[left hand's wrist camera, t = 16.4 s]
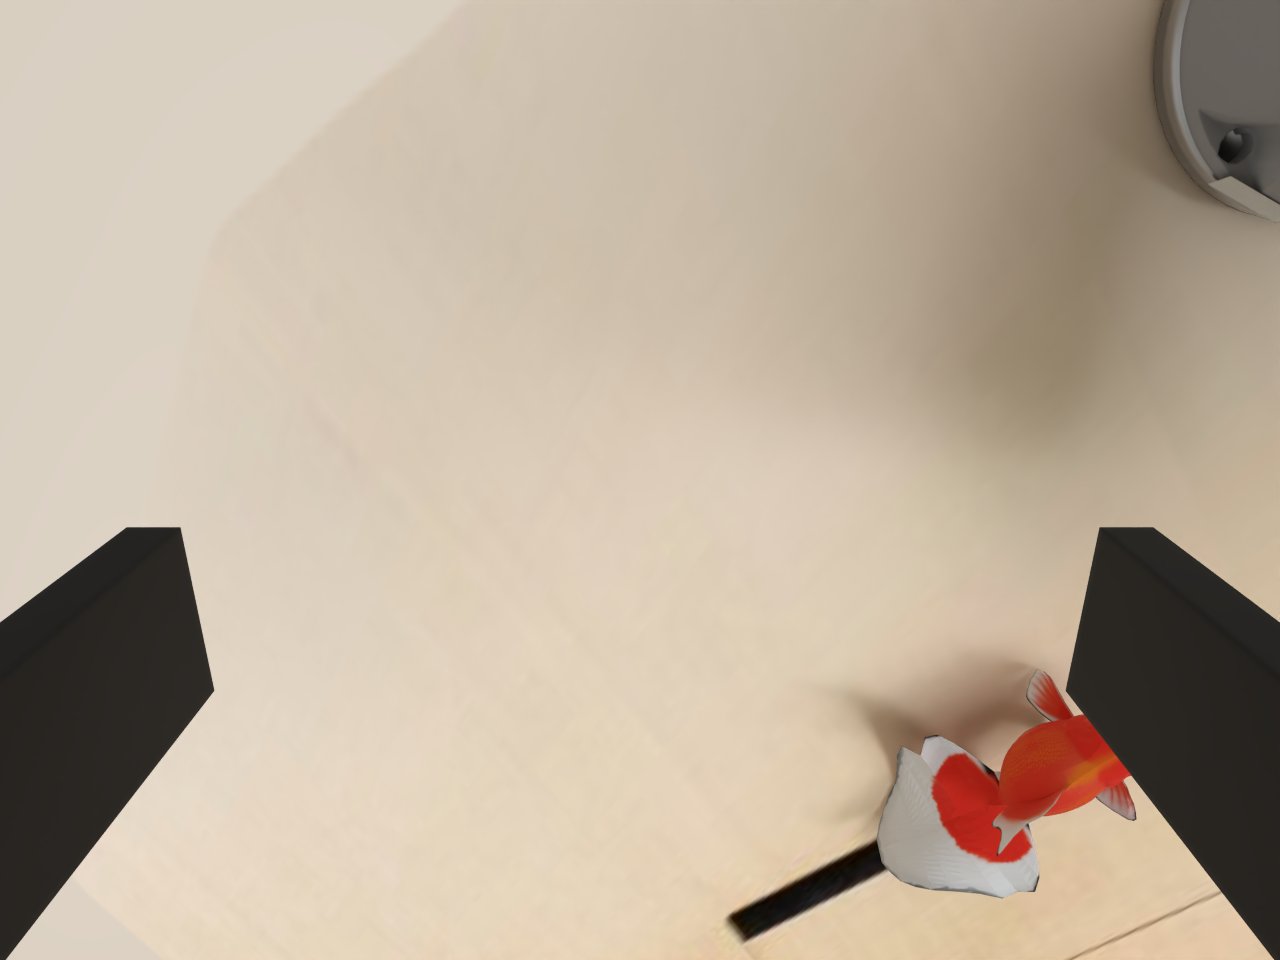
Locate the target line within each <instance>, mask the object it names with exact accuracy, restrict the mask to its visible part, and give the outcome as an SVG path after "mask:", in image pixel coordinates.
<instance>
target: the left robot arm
mask: <svg viewBox="0 0 1280 960" xmlns="http://www.w3.org/2000/svg"><path fill="white" fill-rule="evenodd" d="M1154 88H1155V98H1156V104H1157V109H1158V114H1159V118H1160V121H1161V124H1162V128H1163V131H1164V134H1165V136H1166V138H1167V141H1168V143H1169V145H1170V147H1171V149H1172V151H1173V153H1174V154H1175V156H1176V158H1177V159H1178V161H1179V163H1180V164H1181V165H1182V167H1183V168H1184V169H1185V171H1186V172H1187V173H1188V175H1189V176H1190V177H1191V178H1192V179H1193V180H1194V181H1195V182H1196V183H1197V184H1198V185H1199V186H1200V187H1201V188H1203V189H1204V190H1205V191H1206V192H1208V193H1209V194H1210V195H1212V196H1213V197H1215V198H1216V199H1218V200H1219V201H1221V202H1223V203H1224V204H1226V205H1228V206H1231V207H1233V208H1235V209H1237V210H1240V211H1243V212H1246V213H1249V214H1252V215H1256V216H1261V217H1265V218H1267V219H1269V220H1270V221H1272V222H1274V223H1277V222H1280V0H1165V2H1164V6H1163V9H1162V13H1161V17H1160V21H1159V25H1158V31H1157V37H1156V43H1155V54H1154ZM213 692H214V687H213V682H212V677H211V672H210V668H209V663H208V658H207V653H206V648H205V644H204V639H203V634H202V629H201V624H200V619H199V615H198V610H197V605H196V600H195V595H194V591H193V586H192V581H191V576H190V571H189V567H188V562H187V557H186V552H185V547H184V543H183V538H182V533H181V528H180V527H127V528H125V529H124V530H123V531H121V532H120V533H119V534H117V535H116V536H115V537H113V538H112V539H111V540H109V541H108V542H107V543H105V544H104V545H103V546H101V547H100V548H99V549H97V550H96V551H95V552H93V553H92V554H91V555H89V556H88V557H87V558H85V559H84V560H83V561H81V562H80V563H79V564H77V565H76V566H75V567H73V568H72V569H71V570H69V571H68V572H67V573H65V574H64V575H63V576H61V577H60V578H59V579H57V580H56V581H55V582H53V583H52V584H51V585H49V586H48V587H47V588H45V589H44V590H43V591H41V592H40V593H39V594H37V595H36V596H35V597H34V598H32V599H31V600H30V601H28V602H27V603H25V604H24V605H23V606H22V607H20V608H19V609H18V610H16V611H15V612H14V613H12V614H11V615H10V616H8V617H7V618H6V619H4V620H3V621H2V622H0V960H6V959H7V957H8V956H9V955H10V954H11V952H12V951H13V950H14V948H15V947H16V946H17V944H18V943H19V942H20V941H21V939H22V938H23V937H24V936H25V934H26V933H27V932H28V930H29V929H30V928H31V926H32V925H33V924H34V923H35V921H36V920H37V919H38V917H39V916H40V915H41V914H42V912H43V911H44V910H45V908H46V907H47V906H48V905H49V903H50V902H51V901H52V899H53V898H54V897H55V896H56V894H57V893H58V892H59V890H60V889H61V888H62V886H63V885H64V884H65V883H66V881H67V880H68V879H69V877H70V876H71V875H72V874H73V872H74V871H75V870H76V868H77V867H78V866H79V865H80V863H81V862H82V861H83V859H84V858H85V857H86V856H87V854H88V853H89V852H90V850H91V849H92V848H93V847H94V845H95V844H96V843H97V841H98V840H99V839H100V837H101V836H102V835H103V834H104V832H105V831H106V830H107V828H108V827H109V826H110V825H111V823H112V822H113V821H114V819H115V818H116V817H117V816H118V814H119V813H120V812H121V810H122V809H123V808H124V807H125V805H126V804H127V803H128V801H129V800H130V799H131V798H132V796H133V795H134V794H135V792H136V791H137V790H138V788H139V787H140V786H141V785H142V783H143V782H144V781H145V779H146V778H147V777H148V776H149V774H150V773H151V772H152V770H153V769H154V768H155V767H156V765H157V764H158V763H159V761H160V760H161V759H162V758H163V756H164V755H165V754H166V752H167V751H168V750H169V748H170V747H171V746H172V745H173V743H174V742H175V741H176V739H177V738H178V737H179V736H180V734H181V733H182V732H183V730H184V729H185V728H186V727H187V725H188V724H189V723H190V721H191V720H192V719H193V718H194V716H195V715H196V714H197V712H198V711H199V710H200V709H201V707H202V706H203V705H204V703H205V702H206V701H207V699H208V698H209V697H210V696H211V694H212V693H213ZM1066 692H1067V693H1068V694H1069V696H1070V697H1071V698H1072V699H1073V701H1074V702H1075V703H1076V705H1077V706H1078V707H1079V709H1080V710H1081V711H1082V712H1083V714H1084V715H1085V716H1086V718H1087V719H1088V720H1089V721H1090V723H1091V724H1092V725H1093V727H1094V728H1095V729H1096V730H1097V732H1098V733H1099V734H1100V736H1101V737H1102V738H1103V739H1104V741H1105V742H1106V743H1107V745H1108V746H1109V747H1110V748H1111V750H1112V751H1113V752H1114V754H1115V755H1116V756H1117V758H1118V759H1119V760H1120V761H1121V763H1122V764H1123V765H1124V767H1125V768H1126V769H1127V770H1128V772H1129V773H1130V774H1131V776H1132V777H1133V778H1134V779H1135V781H1136V782H1137V783H1138V785H1139V786H1140V787H1141V788H1142V790H1143V791H1144V792H1145V794H1146V795H1147V796H1148V798H1149V799H1150V800H1151V801H1152V803H1153V804H1154V805H1155V807H1156V808H1157V809H1158V810H1159V812H1160V813H1161V814H1162V816H1163V817H1164V818H1165V819H1166V821H1167V822H1168V823H1169V825H1170V826H1171V827H1172V828H1173V830H1174V831H1175V832H1176V834H1177V835H1178V836H1179V837H1180V839H1181V840H1182V841H1183V843H1184V844H1185V845H1186V847H1187V848H1188V849H1189V850H1190V852H1191V853H1192V854H1193V856H1194V857H1195V858H1196V859H1197V861H1198V862H1199V863H1200V865H1201V866H1202V867H1203V868H1204V870H1205V871H1206V872H1207V874H1208V875H1209V876H1210V877H1211V879H1212V880H1213V881H1214V883H1215V884H1216V885H1217V887H1218V888H1219V889H1220V890H1221V892H1222V893H1223V894H1224V896H1225V897H1226V898H1227V899H1228V901H1229V902H1230V903H1231V905H1232V906H1233V907H1234V908H1235V910H1236V911H1237V912H1238V914H1239V915H1240V916H1241V917H1242V919H1243V920H1244V921H1245V923H1246V924H1247V925H1248V926H1249V928H1250V929H1251V930H1252V932H1253V933H1254V934H1255V936H1256V937H1257V938H1258V939H1259V941H1260V942H1261V943H1262V945H1263V946H1264V947H1265V948H1266V950H1267V951H1268V952H1269V954H1270V955H1271V956H1272V957H1273V959H1274V960H1280V622H1278V621H1277V620H1276V619H1274V618H1273V617H1272V616H1270V615H1269V614H1268V613H1266V612H1265V611H1264V610H1262V609H1261V608H1260V607H1259V606H1257V605H1256V604H1255V603H1253V602H1252V601H1251V600H1249V599H1248V598H1247V597H1245V596H1244V595H1243V594H1241V593H1240V592H1239V591H1237V590H1236V589H1235V588H1233V587H1232V586H1231V585H1229V584H1228V583H1227V582H1225V581H1224V580H1223V579H1221V578H1220V577H1219V576H1217V575H1216V574H1215V573H1213V572H1212V571H1211V570H1209V569H1208V568H1207V567H1205V566H1204V565H1203V564H1201V563H1200V562H1199V561H1197V560H1196V559H1195V558H1193V557H1192V556H1191V555H1189V554H1188V553H1187V552H1185V551H1184V550H1183V549H1181V548H1180V547H1179V546H1177V545H1176V544H1175V543H1173V542H1172V541H1171V540H1169V539H1168V538H1167V537H1165V536H1164V535H1163V534H1161V533H1160V532H1159V531H1157V530H1156V529H1155V528H1153V527H1100V528H1099V533H1098V538H1097V543H1096V547H1095V552H1094V557H1093V562H1092V567H1091V571H1090V576H1089V581H1088V586H1087V591H1086V595H1085V600H1084V605H1083V610H1082V615H1081V619H1080V624H1079V629H1078V634H1077V639H1076V644H1075V648H1074V653H1073V658H1072V663H1071V668H1070V672H1069V677H1068V682H1067V687H1066Z"/></svg>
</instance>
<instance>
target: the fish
mask: <svg viewBox="0 0 1280 960" xmlns="http://www.w3.org/2000/svg"><path fill="white" fill-rule="evenodd" d="M1027 700H1028V701H1029V702H1030V703H1031V704H1032V705H1033V706H1034V707H1035V708H1036V709H1037V710H1038V712H1040V713H1041V714H1042V715H1043V716H1044V717H1046V718H1047V719H1048V720H1050V721H1051V722H1047V723H1044V724H1041V725H1038V726H1036V727H1034V728H1032V729H1029V730H1028V731H1026V732H1025V733H1023V734H1022V735H1021V736H1020V737H1019V738H1018V739H1017V740H1016V741H1015V743H1014V744H1013V745H1012V746H1011V748H1010V749H1009V751H1008V752H1007V754H1006V756H1005V758H1004V761H1003V764H1002V768H1001V772H994V771H992V770H991V769H990V768H988V767H987V766H986V765H984V764H983V763H982V762H980V761H979V760H978V759H976V758H975V757H974V756H972V755H971V754H969V753H968V752H967V751H965V750H964V749H962V748H961V747H959V746H957V745H956V744H954V743H953V742H951V741H949V740H947V739H945V738H943V737H941V736H939V735H934V736H929V737H925V739H924V744H923V748H922V752H921V756H920V755H918V754H916V753H914V752H912V751H910V750H908V749H907V748H905V747H903V746H902V747H901V749H900V751H899V753H898V755H897V774H896V783H895V785H894V787H893V789H892V791H891V793H890V795H889V797H888V800H887V802H886V805H885V808H884V811H883V814H882V817H881V820H880V824H879V828H878V834H877V842H878V846H879V851H880V855H881V860H882V863H883V864H884V865H885V866H886V868H887V869H888V870H889V871H890V872H891V873H892V874H893V875H894V876H895V877H897V878H898V879H899V880H900V881H902V882H904V883H907V884H910V885H912V886H915V887H919V888H925V889H930V890H940V891H957V892H968V893H978V894H984V895H989V896H993V897H998V898H1004V897H1007V896H1009V895H1011V894H1014V893H1016V892H1035V890H1036V887H1037V883H1038V880H1039V868H1038V859H1037V855H1036V851H1035V847H1034V843H1033V839H1032V835H1031V832H1030V828H1029V824H1028V823H1030V822H1032V821H1034V820H1036V819H1038V818H1040V817H1042V816H1050V815H1056V814H1061V813H1065V812H1068V811H1071V810H1074V809H1076V808H1078V807H1080V806H1083V805H1085V804H1086V803H1088V802H1090V801H1091V800H1093V799H1094V798H1095V797H1096V798H1097V799H1098V800H1099V801H1100V802H1102V803H1103V804H1104V805H1106V806H1107V807H1109V808H1110V809H1111V810H1113V811H1114V812H1116V813H1118V814H1119V815H1121V816H1123V817H1125V818H1126V819H1128V820H1133V821H1134V820H1136V812H1135V807H1134V803H1133V801H1132V799H1131V796H1130V794H1129V791H1128V788H1127V786H1126V784H1125V783H1124V781H1123V780H1124V779H1125V778H1126V777H1128V776H1131V774H1130V773H1129V772H1128V770H1127V769H1126V768H1125V767H1124V765H1123V764H1122V763H1121V761H1120V760H1119V759H1118V758H1117V756H1116V755H1115V754H1114V752H1113V751H1112V750H1111V748H1110V747H1109V746H1108V745H1107V743H1106V742H1105V741H1104V739H1103V738H1102V737H1101V736H1100V734H1099V733H1098V732H1097V730H1096V729H1095V728H1094V727H1093V725H1092V724H1091V723H1090V721H1089V720H1088V719H1087V718H1086V716H1085V715H1078V716H1073V714H1072V713H1071V711H1070V709H1069V708H1068V706H1067V705H1066V703H1065V702H1064V700H1063V698H1062V696H1061V694H1060V693H1059V691H1058V689H1057V688H1056V686H1055V684H1054V682H1053V681H1052V679H1051V678H1050V676H1048V675H1047V674H1046V673H1045V672H1043V671H1040V670H1036V672H1035V673H1034V675H1033V676H1032V678H1031V680H1030V683H1029V686H1028V689H1027Z"/></svg>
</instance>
